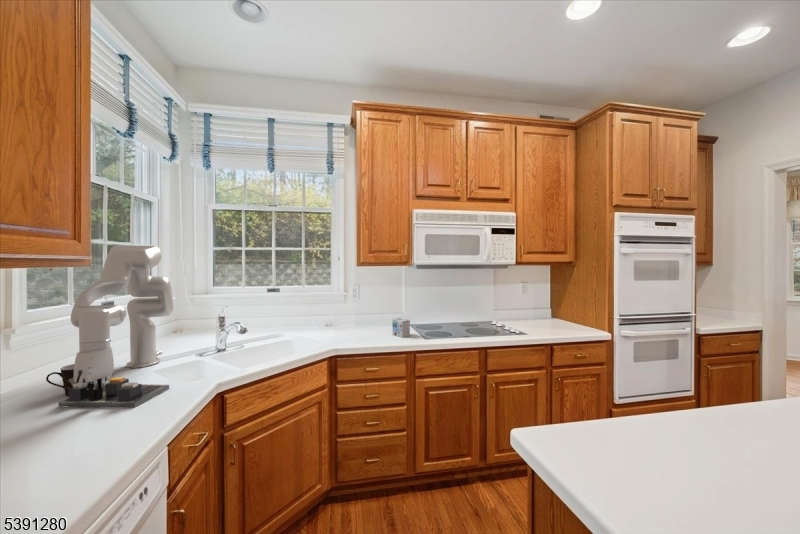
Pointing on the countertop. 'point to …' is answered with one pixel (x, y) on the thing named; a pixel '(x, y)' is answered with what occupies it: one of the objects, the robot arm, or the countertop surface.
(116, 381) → the block
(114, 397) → the panel
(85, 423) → the countertop surface
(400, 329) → the light bulb box
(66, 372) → the coffee mug
